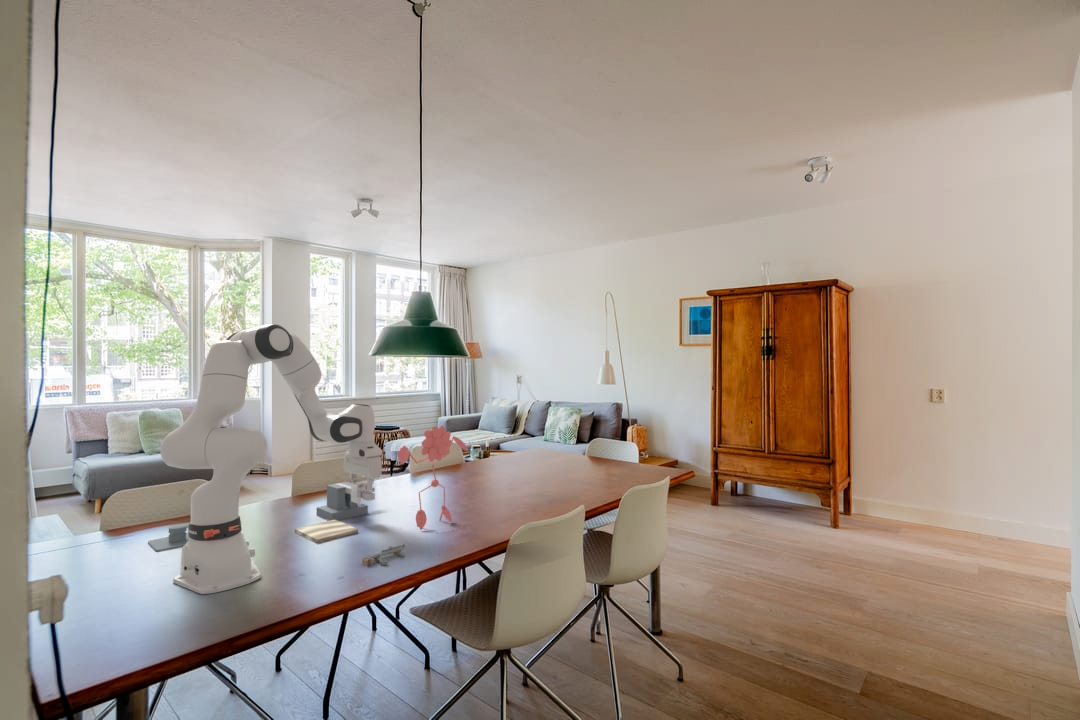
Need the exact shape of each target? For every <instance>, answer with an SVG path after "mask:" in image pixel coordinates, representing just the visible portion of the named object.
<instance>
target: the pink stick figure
mask: <svg viewBox="0 0 1080 720" xmlns="http://www.w3.org/2000/svg"><path fill="white" fill-rule="evenodd" d="M423 434H424V437H425V438H424V440H423V441H421V446H422V449H421V455H422V456H426V455H428V456H427V457H425V458H423V459H420V460H418V461H417V460H416V459H415V458H414V456H413V455H412V453H411V452H410V450H409V448H408V447H407V446H406V445H403V446H402V447H400V449H399V450H398V452H397V458H398V461H399V463H400V464H401V465H403V466H404V465H405V463H406V462H407V461H408V460H409V457H411V459H412V460H413V461H414V463H415V464H419V463H421V462H424V461H426V460H429V462H430V463H431V468H432V472H433V478H434V479H432V480H431V482H430V485H429V486H427V487H425V488H423V489H422V490H420V491H419V492H418V500H419V510H418V511H416V514H415V522H416V527H418V528H419V530H420V531H421V530H423V529H424V527H425V526H426V524H427V520H428V519H427V514H426V512H425V510H423V509H422V502H421V501H422V500H421V493H423V492H424V491H426V490H427V489H429V488H431V487H432V488H437V487H438V486H440V488H443V504H442V505H441V514H440V517H439V522H441V520H442V518H443V515H444V517H445V518H446V519H447V520H448V522H449V521H450V522H451V523H452V522H453V520H452V514H451V512H450V510H449V509H448V507H447V506H446V488H445V486H443V485H442V484H440V482H439V480H438V479H437V477H436V473H435V472H436V471H435V466H434V465H435V464H434V461H435V460H436V461H439V462H441V460H442V459H443V458H446V456H448V455H449V454H450V447H451V446H452V445H453V441H454V442H455V443H456V445H458V447H459V448H460V449H462V450H464V451H467V452H469V448H468V447H467V446H466V444H465V442H464V441H462V440H461V439H460V438H459V437H457V436H454V435H453V436H452V438H451V435H452V434H451V432H450V431H446V427H445V426H444V425H440V426H439V427H438V426H433V427H432V430H430V429H427V430H424V433H423ZM465 526H466V524H465V525H463V526H461V527H459V528H457V529H454V530H449V531H448V533H450V532H455V531H458V530H459V529H462V528H465ZM400 529H401V530H402V529H403V528H402V527H400ZM444 533H447V531H446V532H445V531H444V532H442V534H444ZM437 534H440V532H439V533H438V532H436V535H437Z"/></svg>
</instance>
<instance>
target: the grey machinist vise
mask: <svg viewBox="0 0 1080 720" xmlns="http://www.w3.org/2000/svg"><path fill="white" fill-rule="evenodd" d="M351 483H352V482H349V481H343V482H339V483H332V484H327V485H326V505H321V506H316V517H319V518H322V519H324V520H326V521H331V520H337V521H341V520H347V519H350V518H354V517H359V516H362V515H367V514H368V513H369V508H368V507H369V505H367V504H365V503H362V502H361V503H354V502H351ZM375 490H376V489H375V487H373V486H372V493H371V492H368V491H367V492H362V493H361V499H362V500H364V499H366V500H365V501H367V500H371V501H374V500H376V497H375V496H376V494H375V493H374V492H375Z"/></svg>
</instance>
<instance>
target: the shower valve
mask: <svg viewBox="0 0 1080 720" xmlns="http://www.w3.org/2000/svg"><path fill="white" fill-rule="evenodd" d="M189 523H190V522H186V523H181V524H176V525H175V524H174V525H171V526H169V527H168V536H166V537H161V538H157V539H152V540H148V541H147V544H148V545H149V547H151V548H152V549H153V550H154V551H155V552H156V553H157V552H159V553H160V552H163V551H169V550H173V548H174V549H178V548H183V547H184V546H185V544H186V543H187V542H188V540H189V538H190V537H189V536H188V532H187V531H188V527H189ZM182 546H183V547H182Z"/></svg>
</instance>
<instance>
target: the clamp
mask: <svg viewBox="0 0 1080 720" xmlns="http://www.w3.org/2000/svg"><path fill="white" fill-rule="evenodd" d="M405 547H406V544H405V543H402V544H401V545H398V546H395V547H393V546H389V547H388V549H387V548H386V549H381V552H378V553H374V554H371V555H366V556H363V557H362V559H361V564H362V565H363V566H364V567H369V566H373V564H374V563H378V562H379V564H380V565H381V566H386V565H388V564H389V561H388V559H393V558H397V557H402V558H405V557H406V555H405V554H404V553H403V552H402V549H401V548H405ZM389 554H392V555H389ZM387 555H389V556H387ZM382 556H386V557H382ZM381 557H382V558H381Z"/></svg>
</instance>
